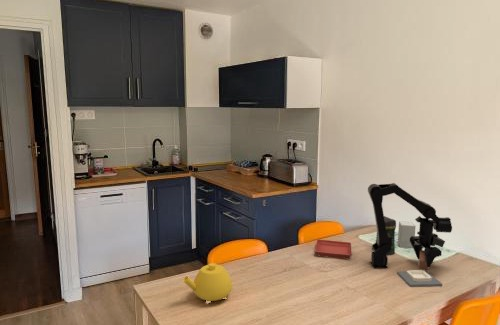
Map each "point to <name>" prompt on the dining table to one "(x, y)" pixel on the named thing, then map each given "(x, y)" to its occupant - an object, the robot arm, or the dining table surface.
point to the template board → (418, 278)
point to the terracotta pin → (422, 261)
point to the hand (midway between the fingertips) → (423, 263)
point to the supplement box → (405, 234)
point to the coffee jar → (390, 231)
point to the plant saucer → (333, 248)
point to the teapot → (211, 283)
